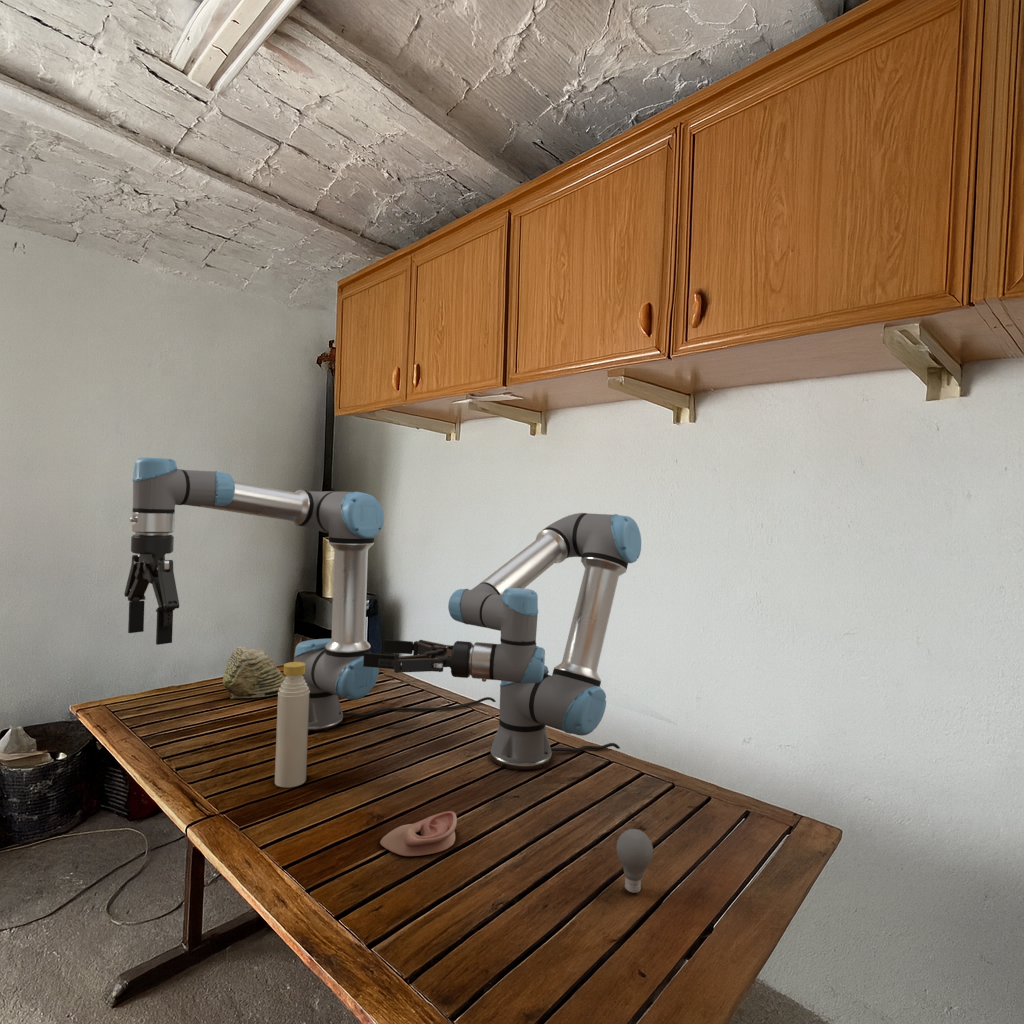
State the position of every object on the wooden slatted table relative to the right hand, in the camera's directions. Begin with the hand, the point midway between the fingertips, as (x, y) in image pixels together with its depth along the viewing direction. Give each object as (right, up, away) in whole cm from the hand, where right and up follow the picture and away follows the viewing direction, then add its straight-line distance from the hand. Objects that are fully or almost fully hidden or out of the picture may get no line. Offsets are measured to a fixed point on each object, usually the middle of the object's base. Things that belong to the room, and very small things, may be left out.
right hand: (374, 652), depth 137 cm
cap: (-18, -4, +3) cm, 19 cm away
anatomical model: (+12, -31, -18) cm, 38 cm away
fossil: (-51, -27, +61) cm, 84 cm away
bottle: (-20, -29, +4) cm, 36 cm away
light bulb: (+50, -33, -31) cm, 67 cm away
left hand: (-44, +5, -7) cm, 45 cm away
